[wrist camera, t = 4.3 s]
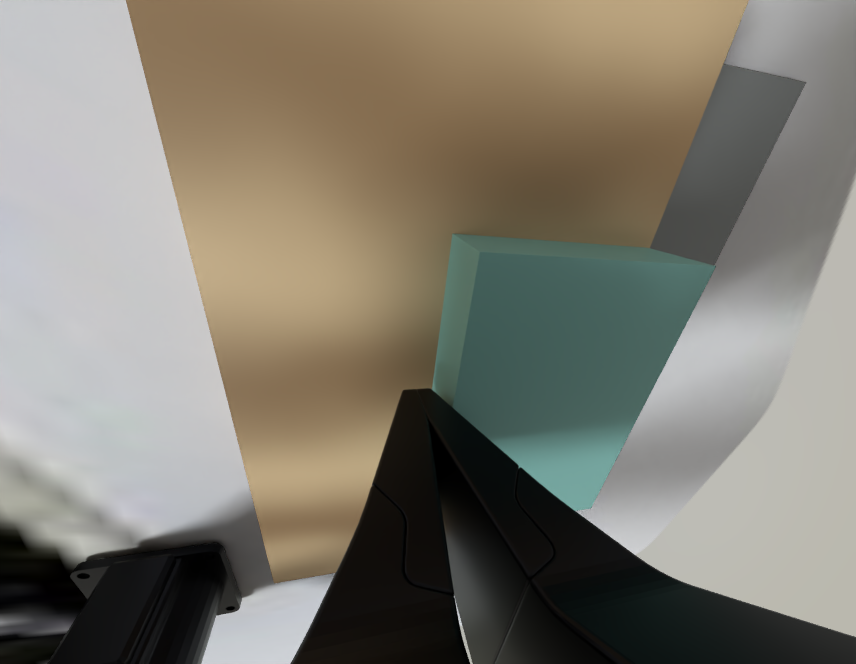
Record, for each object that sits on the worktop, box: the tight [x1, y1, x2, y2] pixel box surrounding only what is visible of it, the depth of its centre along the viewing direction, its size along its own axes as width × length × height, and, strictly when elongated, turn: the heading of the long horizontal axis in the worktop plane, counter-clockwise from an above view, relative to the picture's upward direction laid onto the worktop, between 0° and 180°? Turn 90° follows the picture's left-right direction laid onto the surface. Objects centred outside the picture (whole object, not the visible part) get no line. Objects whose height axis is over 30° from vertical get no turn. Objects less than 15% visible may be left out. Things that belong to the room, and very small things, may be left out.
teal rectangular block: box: [432, 234, 716, 511], centre depth 10 cm, size 9×6×2 cm, turn 174°
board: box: [126, 0, 749, 583], centre depth 12 cm, size 20×12×4 cm, turn 175°
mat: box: [650, 64, 806, 265], centre depth 15 cm, size 20×8×1 cm, turn 175°
